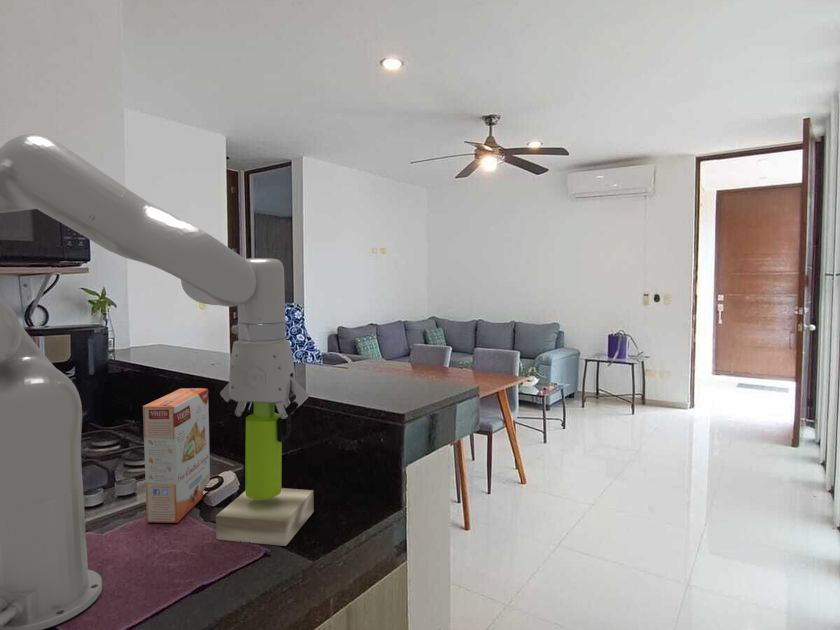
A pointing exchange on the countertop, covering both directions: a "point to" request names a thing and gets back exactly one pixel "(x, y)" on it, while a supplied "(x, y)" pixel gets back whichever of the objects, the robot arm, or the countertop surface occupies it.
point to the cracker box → (176, 453)
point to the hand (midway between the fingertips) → (265, 437)
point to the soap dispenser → (263, 453)
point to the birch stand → (265, 517)
